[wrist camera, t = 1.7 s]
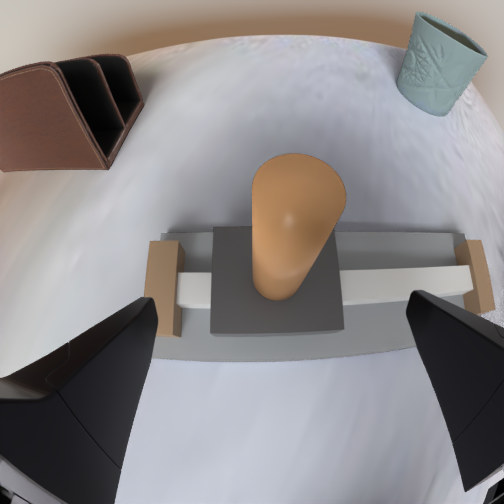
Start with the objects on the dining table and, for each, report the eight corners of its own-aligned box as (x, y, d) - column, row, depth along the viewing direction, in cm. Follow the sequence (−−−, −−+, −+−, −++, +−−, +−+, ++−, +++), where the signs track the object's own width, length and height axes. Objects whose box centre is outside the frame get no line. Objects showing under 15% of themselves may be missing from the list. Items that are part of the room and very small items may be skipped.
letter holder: (110, 172, 24) (44, 56, 11) (3, 173, 25) (-52, 109, 12) (146, 105, 28) (113, 1, 15) (37, 119, 29) (-3, 53, 16)
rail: (156, 358, 18) (140, 357, 15) (164, 238, 21) (152, 220, 18) (475, 333, 18) (497, 327, 15) (458, 238, 21) (476, 224, 18)
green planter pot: (380, 84, 30) (404, 11, 18) (407, 69, 32) (429, 11, 21) (442, 130, 27) (483, 61, 16) (459, 108, 29) (491, 52, 18)
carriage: (214, 336, 16) (159, 300, 6) (217, 240, 18) (185, 119, 9) (334, 333, 16) (432, 291, 6) (326, 240, 18) (385, 125, 9)
